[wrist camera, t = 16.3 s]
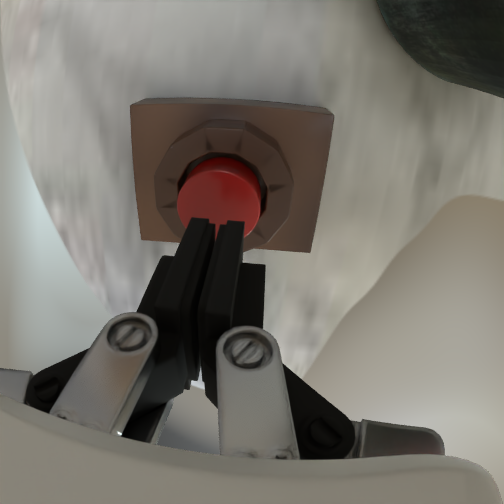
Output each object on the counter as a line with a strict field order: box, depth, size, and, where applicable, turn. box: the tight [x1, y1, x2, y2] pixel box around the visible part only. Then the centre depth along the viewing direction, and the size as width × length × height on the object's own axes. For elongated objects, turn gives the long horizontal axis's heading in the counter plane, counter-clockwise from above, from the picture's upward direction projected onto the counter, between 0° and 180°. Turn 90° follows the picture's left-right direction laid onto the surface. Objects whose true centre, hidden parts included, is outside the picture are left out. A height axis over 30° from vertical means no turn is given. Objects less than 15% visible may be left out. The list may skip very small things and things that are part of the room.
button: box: [177, 157, 261, 237], centre depth 14 cm, size 4×4×2 cm
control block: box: [130, 98, 334, 253], centre depth 16 cm, size 10×8×4 cm
